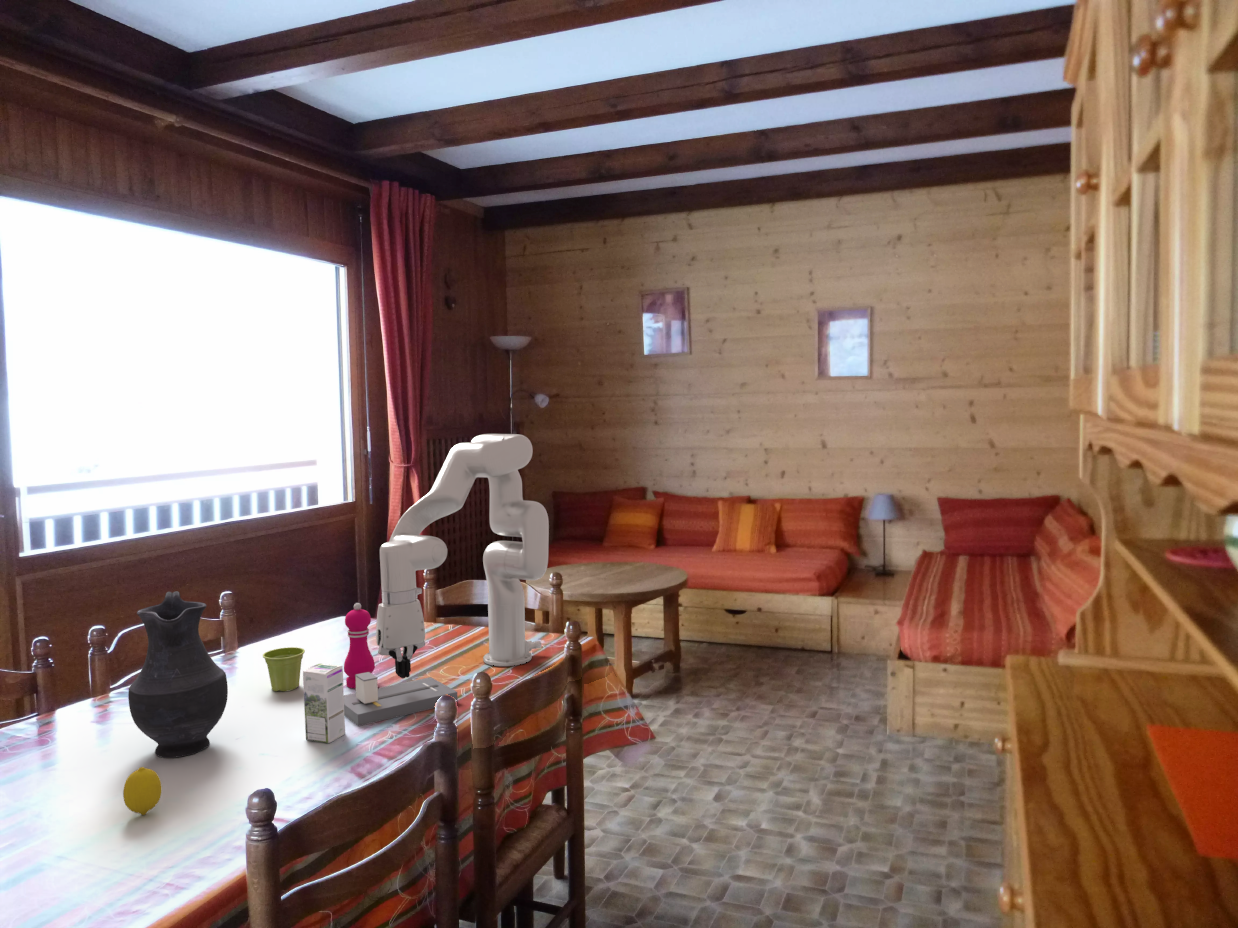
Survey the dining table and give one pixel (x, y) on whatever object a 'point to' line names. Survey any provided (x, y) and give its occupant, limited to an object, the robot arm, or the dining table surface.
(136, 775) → the lemon
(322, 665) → the syrup box
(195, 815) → the dining table surface
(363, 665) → the pepper mill
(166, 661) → the pitcher
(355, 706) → the console
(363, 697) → the block
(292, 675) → the plant pot
